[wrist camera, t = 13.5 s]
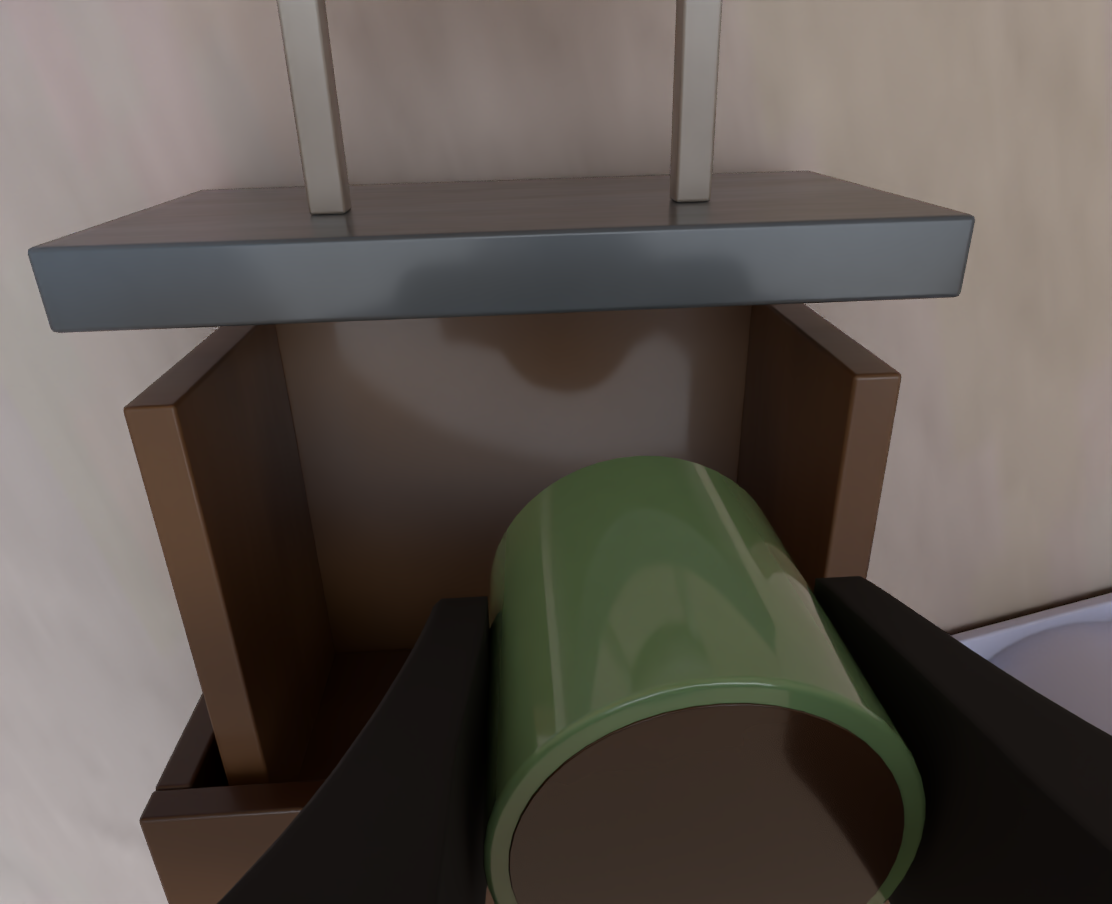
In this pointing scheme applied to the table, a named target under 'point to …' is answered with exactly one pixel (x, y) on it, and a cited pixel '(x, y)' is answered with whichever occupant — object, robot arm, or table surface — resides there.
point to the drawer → (475, 380)
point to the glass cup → (679, 709)
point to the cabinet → (214, 818)
